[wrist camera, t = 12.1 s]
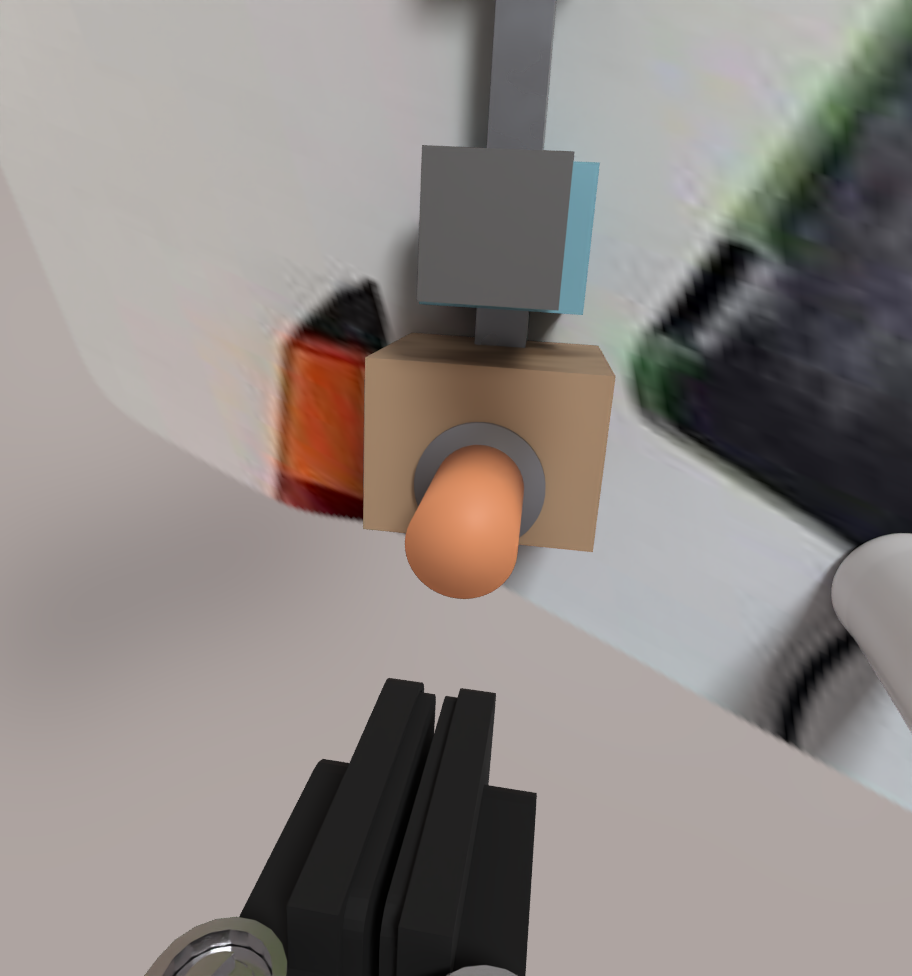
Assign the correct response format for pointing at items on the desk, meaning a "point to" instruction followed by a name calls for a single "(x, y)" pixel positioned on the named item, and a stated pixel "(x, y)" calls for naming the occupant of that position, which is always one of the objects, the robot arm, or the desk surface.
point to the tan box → (489, 427)
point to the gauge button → (468, 524)
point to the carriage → (505, 228)
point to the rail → (517, 119)
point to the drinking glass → (880, 611)
